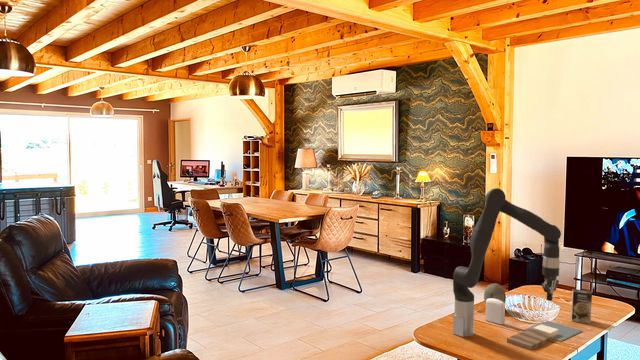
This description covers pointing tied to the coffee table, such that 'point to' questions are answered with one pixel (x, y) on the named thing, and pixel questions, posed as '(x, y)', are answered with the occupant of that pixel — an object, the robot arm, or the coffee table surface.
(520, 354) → the coffee table surface
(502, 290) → the decorative egg
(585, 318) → the coffee box
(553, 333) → the tile
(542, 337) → the deck
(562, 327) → the mat
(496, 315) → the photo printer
